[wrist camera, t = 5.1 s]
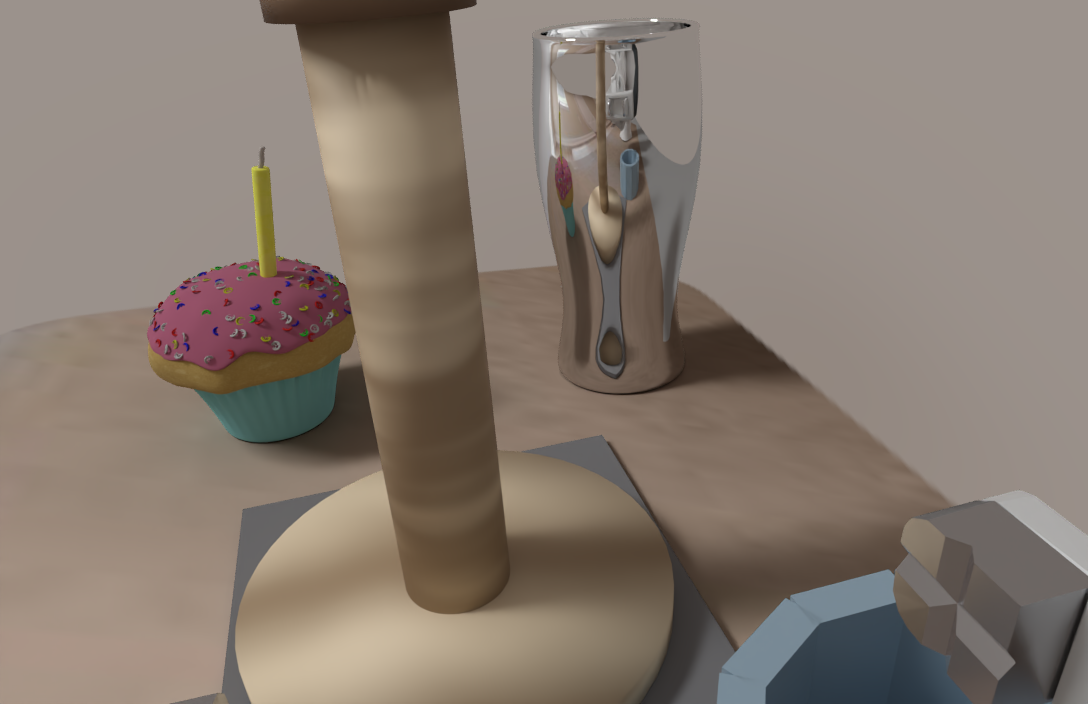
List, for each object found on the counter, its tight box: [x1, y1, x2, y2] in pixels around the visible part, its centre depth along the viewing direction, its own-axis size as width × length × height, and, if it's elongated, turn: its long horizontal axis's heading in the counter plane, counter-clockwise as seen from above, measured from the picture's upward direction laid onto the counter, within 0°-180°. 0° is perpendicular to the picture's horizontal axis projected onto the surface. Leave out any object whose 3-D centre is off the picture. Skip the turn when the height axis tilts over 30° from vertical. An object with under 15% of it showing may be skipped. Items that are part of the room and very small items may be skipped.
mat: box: [222, 435, 735, 704], centre depth 24 cm, size 14×14×1 cm
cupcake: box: [147, 146, 356, 442], centre depth 32 cm, size 9×8×12 cm
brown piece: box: [235, 0, 674, 704], centre depth 20 cm, size 13×13×18 cm
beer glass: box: [532, 18, 702, 394], centre depth 34 cm, size 7×7×15 cm
